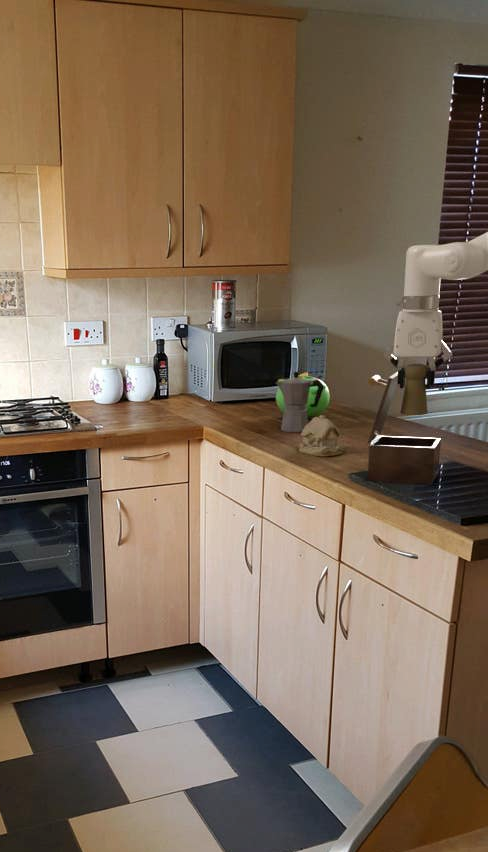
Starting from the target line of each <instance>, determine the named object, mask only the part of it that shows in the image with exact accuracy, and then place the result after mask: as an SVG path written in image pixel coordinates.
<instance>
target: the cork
mask: <svg viewBox="0 0 488 852" xmlns="http://www.w3.org/2000/svg"><path fill="white" fill-rule="evenodd" d="M428 371H429V366H428V365H426V364H423V363H411V364H408V365H406V367H405V379H406V380H405V387H404V392H403V397H402V403H401V408H400V414H401V415H406V416H424V415H427V414H428V401H427V400H428V399H427V388H426V387H427V381H426V380H427V372H428Z"/></svg>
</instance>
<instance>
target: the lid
mask: <svg viewBox="0 0 488 852" xmlns="http://www.w3.org/2000/svg"><path fill="white" fill-rule="evenodd" d="M397 381H398V371H396V372H395V373H393V374H392V375H390V376H389V377H388V379H387V380H386V379H383V378H382V377H381V376H380V375H379V374H375V375H374V376H372V377H370V378H369V379H368V381H367V384H368V385H369V386H370V387H374V386H378V387H379V386H380V387H382V388H384V392H383V393H382V397H381V400H380V402H379V406H378V410H377V412H376V416H375V419H374V422H373V425H372V428H371V431H370V434H369V437H368V440H367V444H369V445H370V444H371V443H372V442H373V441H374V440H375V439H376V438H377V437H378V436H379V435H380V434H382V431H383V427H384V425H385V423H386V422H385V421H386V418H387V415H388V412H389V409H390V407H391V404H392V401H393V398H394V394H395V392H396V389H397V386H398V384H397Z"/></svg>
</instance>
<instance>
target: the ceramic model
mask: <svg viewBox="0 0 488 852" xmlns="http://www.w3.org/2000/svg"><path fill="white" fill-rule="evenodd" d="M300 436H302V443H300V444H299V445H298V452H299V453H301V454H304V455H305V454H306V455H310V456H317V457H333V456H338V455H341V454H343V450H344V447H343V446H342V445H341V444H340V445H338V440H339V439H338V438H339V437H340V436H341V433H340V431H339V428H338V427H337V425H335V424H334V423H333V422H332V421H331V419H328V418H326V415H323V414H319V416H313V417H312V418H311V420H310V421H308V424H307V425H306V426H305V428H304V429H303V431H302V432H300Z"/></svg>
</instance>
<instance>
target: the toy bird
mask: <svg viewBox="0 0 488 852" xmlns="http://www.w3.org/2000/svg"><path fill="white" fill-rule="evenodd" d="M291 378H294V376H293V377H290V378H289V379H291ZM298 378H301V379H305V380H319V381H320V382H321V383H322V384H323V386H324V389H323V392H322V394H321V397H320V400H319V403H318V405H317V407H311V406H310V404H314V402H315V397H316V394H317V390H318V387H317V386H313V387H310V389H309V395H308V401H307V403H306V409H307V416H308V419H309V418H314V417H317V416H318V415H321V414H322V413H323V412H324V411H325V410H326V409H327V407H328V405H329V403H330V397H331V396H330V389H329V387H328V386H327V385H326V383H325V382H324V381H322V380H321V379H319V378H318V377H314V376H309V372H303V373H301V374H298ZM283 380H284V379H283V378H282V379H278V380H277V382H278V381H283ZM275 402H276V405H277V408H278V409H279V410H280V411H281V412H282V414H284V409H285V404H284V398H283V394H282V392H281V390H280V388H279V387H277V389H276V393H275Z"/></svg>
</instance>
